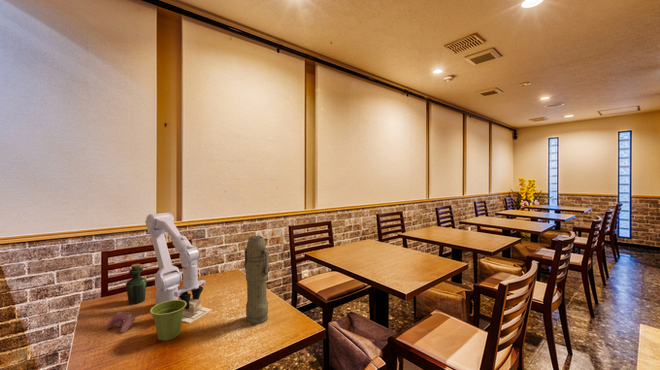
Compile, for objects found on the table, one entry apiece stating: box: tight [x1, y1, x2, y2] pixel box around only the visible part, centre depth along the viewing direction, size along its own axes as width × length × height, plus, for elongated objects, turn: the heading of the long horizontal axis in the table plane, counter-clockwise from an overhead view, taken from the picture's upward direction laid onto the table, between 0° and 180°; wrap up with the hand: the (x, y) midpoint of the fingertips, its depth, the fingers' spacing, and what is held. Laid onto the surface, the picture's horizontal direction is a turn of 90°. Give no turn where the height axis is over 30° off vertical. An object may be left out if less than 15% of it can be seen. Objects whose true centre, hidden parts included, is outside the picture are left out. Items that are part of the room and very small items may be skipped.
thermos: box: [244, 235, 270, 326], centre depth 114 cm, size 9×12×35 cm
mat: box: [182, 306, 213, 324], centre depth 119 cm, size 12×12×1 cm
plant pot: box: [149, 299, 187, 342], centre depth 103 cm, size 12×12×11 cm
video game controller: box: [105, 311, 136, 334], centre depth 109 cm, size 10×5×7 cm, turn 71°
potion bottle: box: [125, 263, 147, 305], centre depth 131 cm, size 8×8×18 cm
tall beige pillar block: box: [184, 297, 202, 313], centre depth 119 cm, size 4×8×4 cm, turn 68°
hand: (191, 306), depth 119 cm, fingers closed on tall beige pillar block, 4 cm apart
